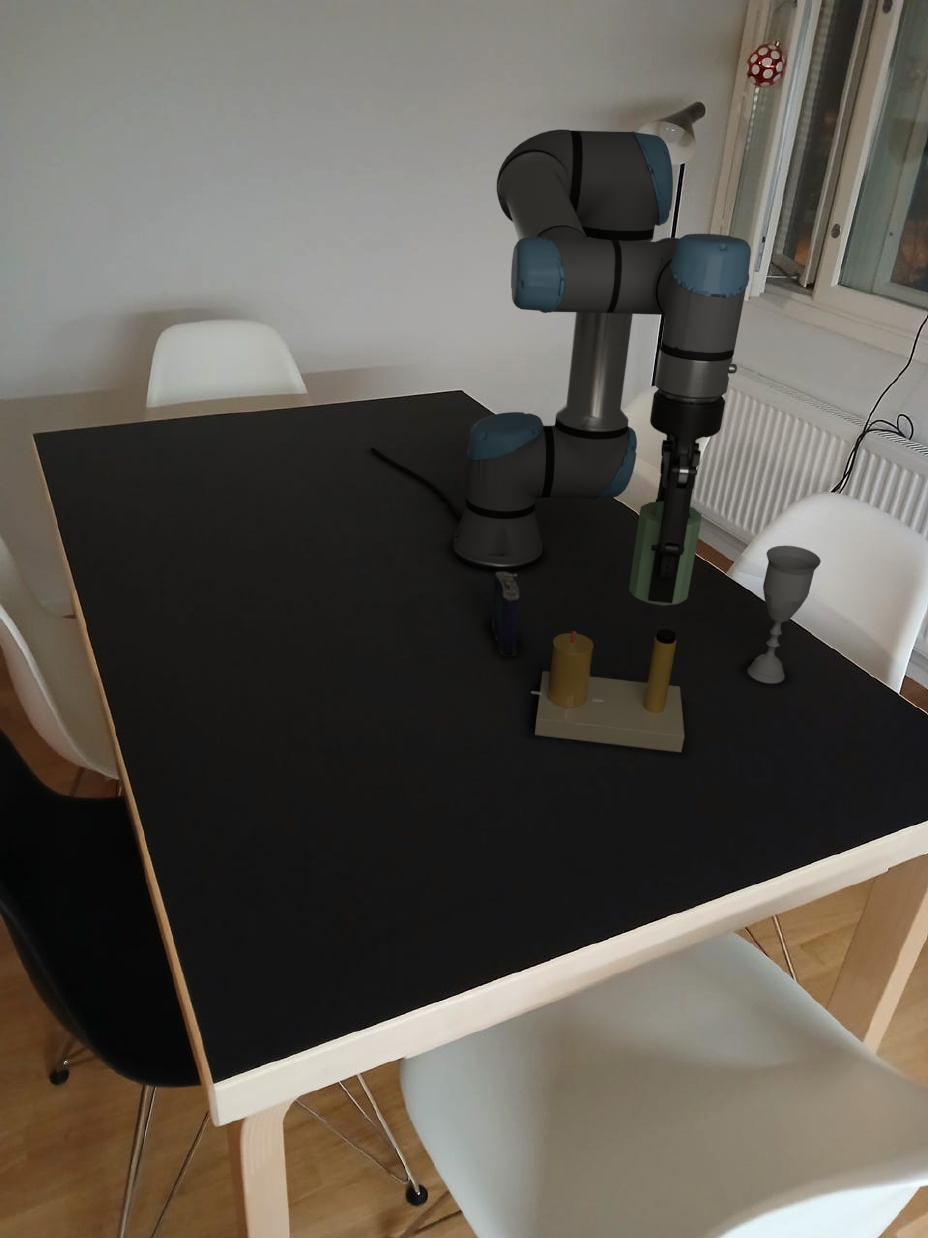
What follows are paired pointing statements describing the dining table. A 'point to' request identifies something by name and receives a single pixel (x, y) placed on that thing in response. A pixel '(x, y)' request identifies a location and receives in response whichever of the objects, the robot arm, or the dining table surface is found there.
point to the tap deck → (613, 716)
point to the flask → (506, 612)
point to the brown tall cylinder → (660, 670)
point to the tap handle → (570, 669)
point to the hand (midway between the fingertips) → (659, 585)
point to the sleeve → (645, 557)
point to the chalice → (783, 601)
